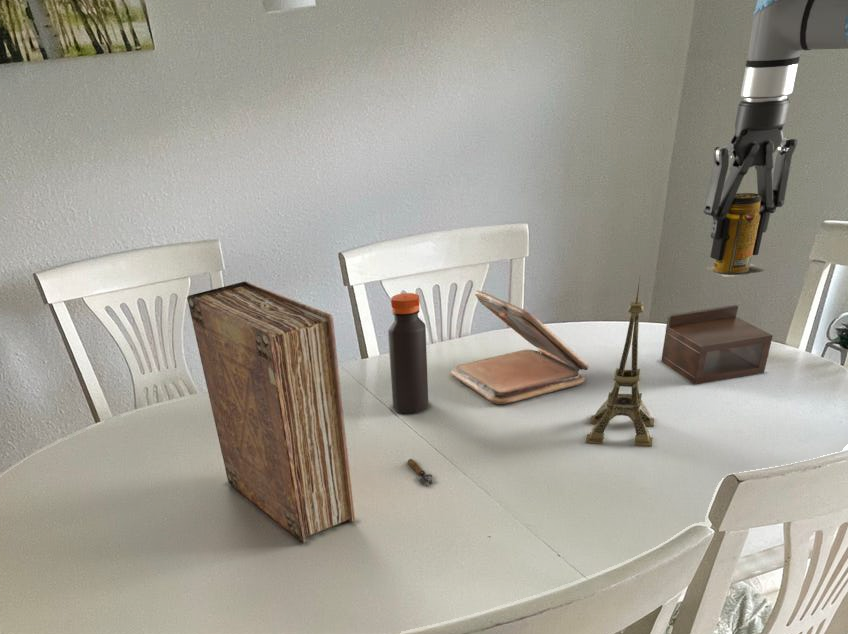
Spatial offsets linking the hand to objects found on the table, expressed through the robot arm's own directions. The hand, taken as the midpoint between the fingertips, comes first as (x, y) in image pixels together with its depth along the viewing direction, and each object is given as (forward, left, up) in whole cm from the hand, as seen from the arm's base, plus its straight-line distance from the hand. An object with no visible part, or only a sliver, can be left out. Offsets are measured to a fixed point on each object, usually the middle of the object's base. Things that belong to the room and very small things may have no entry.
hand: (734, 255), depth 138 cm
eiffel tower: (-20, +28, -20) cm, 40 cm away
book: (-25, +86, -20) cm, 92 cm away
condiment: (0, -1, -3) cm, 3 cm away
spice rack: (0, 0, -20) cm, 20 cm away
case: (+9, +36, -20) cm, 42 cm away
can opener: (-23, +64, -21) cm, 71 cm away
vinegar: (+4, +59, -20) cm, 63 cm away
